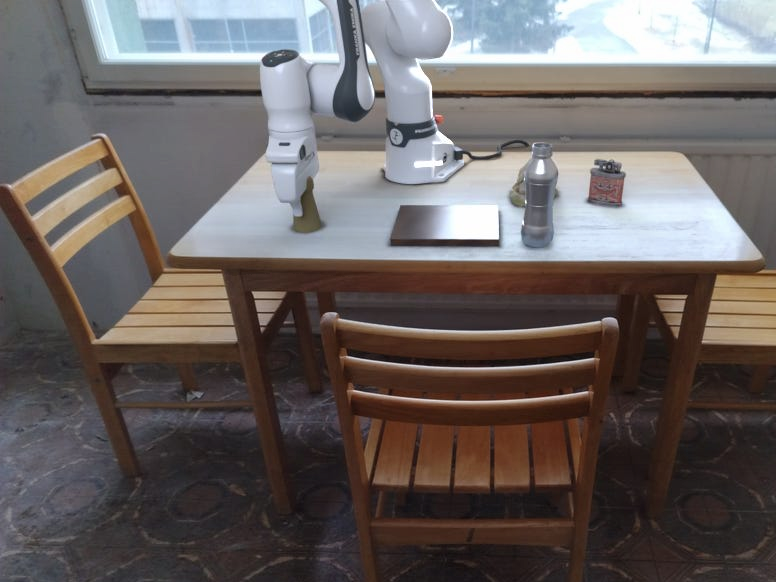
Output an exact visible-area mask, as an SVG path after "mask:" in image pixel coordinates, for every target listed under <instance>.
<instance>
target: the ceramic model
mask: <svg viewBox="0 0 776 582" xmlns="http://www.w3.org/2000/svg"><path fill="white" fill-rule="evenodd" d="M532 158H533V156H532V155H531V157H530V158H529V159H528V161H527V162H526V163H525V164H524V166H522V167H520V169H519V170H518V174H517V175H518V176H517V178H516V182H515V183H514V185H513V186H512V187H511V189H510V200H511V202H512V203H513V204H514V205H515V206H516V205H517V206H521V207H525V201H526V199H525V181H524V171H525V168H526V166H527V165H528V163H529V162H530V161H531V159H532ZM558 193H559V190H558V188H557V187H556V188H555V193H554V197H555V196H556V195H558Z"/></svg>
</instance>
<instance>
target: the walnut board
mask: <svg viewBox="0 0 776 582" xmlns="http://www.w3.org/2000/svg"><path fill="white" fill-rule="evenodd" d="M389 243H390V247H492V248H493V247H500V214H499V205H483V204H482V205H474V204H473V205H472V204H471V205H470V204H468V205H467V204H463V205H461V204H456V205H455V204H453V205H452V204H451V205H450V204H448V205H447V204H443V205H441V204H400V205H399V208H398V211H397V215H396V218H395V220H394V225H393V228H392V231H391V235H390V238H389Z"/></svg>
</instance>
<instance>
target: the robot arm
mask: <svg viewBox="0 0 776 582" xmlns="http://www.w3.org/2000/svg"><path fill="white" fill-rule="evenodd" d="M318 1H319V2H320V3H321V4H322V5H324V7H326V9H327V11H328V12H329V14H330V16H331V18H332V21H333V27H334V33H335V39H336V40H335V41H336V45H337V46H336V48H337V53H338V60H339V64H338V65H336V64H335V65H333V64H325V63H318V62H314V61H311V60H307V59H305V58H303V57H302V56H301V53H300V52H299V51H297V50H294V49H287V48H285V49H284V48H283V49H278V50H273V51H270V52H268V53H266V54H264V56H262V58H261V59H260V63H259V82H260V91H261V96H262V97H261V98H262V102H263V103H262V104H263V106H264V108H265V111H266V113H267V130H268V135H269V136H268V144H267V148H266V150H265V160H266V162H267V163H269V164H270V175H271V179H272V183H273V188H274V192H275V195H276V198H277V199H278V201H279V202H280V203H283V204H289V205H290V207H291V210H292V216H293V215H294V216H302V214H303V213H304V210H303V206H301V202H300V200H301V198H300V197H301V195H302V194H303V193H304V191H305V190H306V187H307V184H306V183H307V178H308V177H309V176H310V177H311V178H312V179H313V180H314V179H315V177H316V176H317V174H318V173H319V172H320V160H319V154H318V144H317V135H316V130H315V123H314V119H313V117H312V115H317V116H322V117H328V118H329V117H330V118H337V119H340V120H343V121H347V122H351V123H357V122H361V120H363V119H364V118H365V117H366V116H367V115H368V114H369V113H370V112H371V111H372V110H373V107H374V106H375V102H376V91H375V90H376V89H375V84H374V82H373V77H372V74H371V69H370V65H369V62H368V55H367V48H366V45H367V46H368V48H369V50H370V51H371V53H372V55H373V57H374V60H375V62H376V64H377V67H378V70H379V73H380V77H381V80H382V84H383V89H384V95H385V96H384V97H385V107H386V118H385V125H384V126H385V132H386V135H387V137H386V139H385V161H384V162H385V164H383V166H382V170H383V171H384V172H385V173H384V175H385V176H384V177H385V179H387V180H388V181H391V182H394V183H398V184H403V185H404V184H405V185H420V184H427V183H444V182H445V181H446V180H448V179H449V178H450V177H452V176H453V175H454V174H455V173H456V172H457V171H458V170H460V169H461V168H463V167H464V165H465V162H464V155H466V156H468V158H469V159H470V160H473V161H474V160H476V161H477V160H478V161H479V160H480V161H481V160H484V161H485V160H491V159H496V158H498V157H500V156H501V155H502V153H503V152H502V148H505V147H507V146H510V145H515V144H522V145H524V146H525V147H529V146H530V144H529V143H528V142H527V141H526V140H523V139H512V140H509V141H506V142H504V143H501V144H499V145H498V146H497V147H496V148H497V153H492V154H489V155H482V156H481V155H479V156H477V155H473V154H472V153H471V151H469V150H463V149H461V148H460V147H458V146H456V145H455V144H454V143H453V142H452V140H450V139H449V138H447V136H445V135H444V134H442V133H441V131H439V127H438V125H442V124H443V123H444V117H443V115H438V114H435V115H434V114H433V113H434V112H433V92H432V91H433V89H432V84H431V81H430V79H429V78H428V76H427V75H426V74H425V73H424V71H423V69H422V68H421V66H420V63H419V61H418V60H421V61H426V60H434V59H440V58H442V57H444V56H445V55H446V54H447V53H448V51H449V50H450V48H451V45H452V42H453V37H454V30H453V24H452V21H451V19H450V17H449V16H448V15H447V13H446V12H445V11H444V10H443V9H442V8H441V7H440V6H439V4H438V3H437V2H436V1H435V0H376V1H372V2H369V3H367V4H366V5H365V6H364V7H363V8H362V10H361V6H360V0H318ZM433 115H434V116H433ZM437 124H438V125H437ZM312 192H313V193H314V190H313V191H312Z"/></svg>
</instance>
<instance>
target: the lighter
mask: <svg viewBox="0 0 776 582" xmlns="http://www.w3.org/2000/svg"><path fill="white" fill-rule="evenodd" d="M593 166H597V167H592V168H590V171H589V174H590V179H589V188H588V196H587V203H588V204H591V205H592V204H593V205H596V206H602V207H608V208H609V207H610V208H620V207H622V206H623V192H624V185H625V179H626V177H627V173H626V172H625V171H623V170H622V162H618V161H615V159H609V160H606V159H604V158H603V159H602V158H595V159H594V162H593Z"/></svg>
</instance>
